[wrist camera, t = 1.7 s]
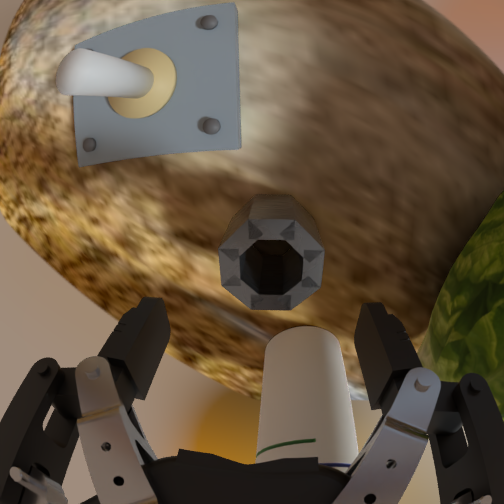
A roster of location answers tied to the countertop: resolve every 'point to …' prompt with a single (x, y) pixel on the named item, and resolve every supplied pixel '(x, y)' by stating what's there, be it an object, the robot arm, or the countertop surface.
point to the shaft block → (156, 86)
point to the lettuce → (472, 311)
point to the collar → (271, 266)
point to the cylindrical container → (306, 400)
